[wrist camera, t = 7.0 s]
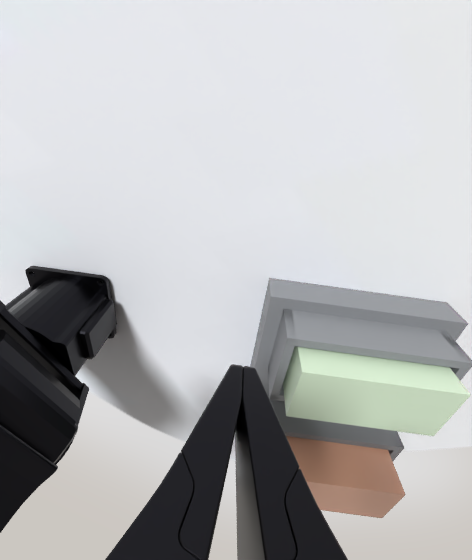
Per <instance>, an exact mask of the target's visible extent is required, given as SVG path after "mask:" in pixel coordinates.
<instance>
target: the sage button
mask: <svg viewBox="0 0 472 560" xmlns="http://www.w3.org/2000/svg"><path fill="white" fill-rule="evenodd" d="M283 389H284V399H285V410H286V416H289V417H296V418H303V419H311V420H318V421H325V422H333V423H340V424H348V425H355V426H362V427H370V428H377V429H384V430H392V431H399V432H406V433H414V434H421V435H428V436H434V435H435V434H436V433H437V432H438V431H439V430H440V429H441V428H442V426H443V425H444V424H445V423H446V422H447V421H448V420H449V419H450V418H451V417H452V415H453V414H454V413H455V412H456V411H457V410H458V409H459V408H460V407H461V405H462V404H463V403H464V402H465V401H466V400H467V399H468V398H469V397H470V393H469V392H468V391H467V389H466V388H465V387H464V385H463V384H462V383H461V382H460V380H459V379H458V378H457V376H456V375H455V374H454V372H453V371H452V370H451V368H450V367H444V366H437V365H429V364H422V363H415V362H407V361H400V360H393V359H385V358H378V357H371V356H364V355H356V354H349V353H342V352H334V351H327V350H320V349H312V348H305V347H298V346H295V347H294V350H293V353H292V356H291V360H290V363H289V366H288V369H287V372H286V375H285V378H284V381H283Z"/></svg>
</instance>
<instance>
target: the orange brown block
mask: <svg viewBox="0 0 472 560" xmlns="http://www.w3.org/2000/svg"><path fill="white" fill-rule="evenodd" d="M286 437H287V440H288V442H289V444H290V446H291V448H292V451H293V453H294V455H295V457H296V460H297V462H298V464H299V469H301V471H302V473H303V475H304V477H305V480H306V482H307V484H308V486H309V488H310V490H311V492H312V494H313V497H314V499H315V501H316V503H317V505H318V507H319V509H320V510H325V511H332V512H340V513H347V514H354V515H361V516H369V517H377V518H383V517H384V516H385V515H386V514H387V512H389V511H390V509H392V508H393V507H394V506H395V505H396V504H397V503H398V502H399V501H400V500H401V499H402V498H403V497H404V496H405V492H404V490H403V487H402V485H401V482H400V480H399V477H398V474H397V472H396V469H395V467H394V464H393V462H392V459H391V457H390V454H389V451H388V450H385V449H378V448H371V447H363V446H356V445H349V444H341V443H334V442H326V441H319V440H312V439H304V438H297V437H290V436H286Z"/></svg>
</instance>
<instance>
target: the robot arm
mask: <svg viewBox="0 0 472 560" xmlns="http://www.w3.org/2000/svg"><path fill="white" fill-rule="evenodd" d="M33 272H34V273H33ZM26 275H27V278H28V281H29V284H30V287H29V288H28V289H27V290H25V291H24V292H23V293H21V294H20V295H19V296H17V297H16V298H15V299H14V300H12V301H11V302H10V303H8V304H7V305H6V306H5V305H4V304H3V303H2V302H1V301H0V532H1V531H2V530H3V528H4V527H5V526H6V524H7V523H8V522H9V520H10V519H11V518H12V516H13V515H14V514H15V513H16V511H17V510H18V509H19V508H20V506H21V505H22V504H23V502H25V500H26V499H27V498H28V497H29V496H30V495H31V494H32V493H33V492H34V491H35V490H36V489H37V488H38V486H40V485H41V484H42V483H43V482H44V481H45V480H47V479H48V478H49V477H50V476H51V475H52V474H53V473H54V472H55V471H56V470H57V468H58V466H57V465H56V464H57V463H58V462H59V461H60V460H61V459H62V457H63V456H64V455H65V453H66V452H67V450H68V449H69V447H70V445H71V444H72V441H73V439H74V437H75V435H76V433H77V429H78V423H79V420H80V417H81V414H82V410H83V407H84V404H85V400H86V397H87V394H88V391H89V388H88V387H87V386H86V385H85V384H84V383H81V382H80V381H79V380H78V379H77V378H76V377H75V375H76V374H77V372H78V371H79V370H80V368H81V367H82V365H83V364H84V362H85V361H86V360H87V359H92V358H94V357H95V356H96V354H97V353H98V351H99V350H100V348H101V347H102V345H103V344H104V342H105V341H106V339H107V338H113V337H114V336H115V335H116V324H117V323H116V315H115V308H114V302H113V301H112V299H111V292H110V285H109V280H108V279H107V277H105V276H103V275H96V274H89V273H81V272H74V271H67V270H60V269H52V268H45V267H38V266H31V267H29V268H28V269H26ZM100 281H102V282H103V283H101V282H100ZM235 430H236V431H235ZM234 435H235V449H236V502H237V552H238V553H237V556H238V560H348V559H347V557H346V556H345V554H344V552H343V550H342V548H341V547H340V545H339V543H338V541H337V540H336V538H335V536H334V534H333V533H332V531H331V529H330V527H329V525H328V523H327V522H326V520H325V518H324V516H323V514H322V512H321V510H320V509H319V507H318V505H317V503H316V501H315V499H314V497H313V494H312V492H311V490H310V488H309V486H308V484H307V482H306V480H305V477H304V475H303V473H302V471H301V469H299V464H298V462H297V460H296V457H295V455H294V453H293V451H292V448H291V446H290V444H289V442H288V440H287V437H286V435H285V433H284V431H283V428H282V426H281V424H280V422H279V419H278V417H277V415H276V413H275V410H274V408H273V406H272V404H271V402H270V399H269V397H268V395H267V393H266V390H265V388H264V386H263V384H262V381H261V379H260V377H259V375H258V372H257V370H256V369H255V368H254V367H248V366H244V367H243V366H241V365H234V364H232V365H231V366H230V367H229V369H228V371H227V373H226V374H225V376H224V378H223V379H222V381H221V383H220V385H219V386H218V388H217V390H216V391H215V393H214V395H213V397H212V398H211V400H210V402H209V404H208V405H207V407H206V409H205V410H204V412H203V414H202V416H201V417H200V419H199V421H198V422H197V424H196V426H195V428H194V429H193V431H192V433H191V434H190V436H189V438H188V440H187V441H186V443H185V445H184V447H183V448H182V450H181V453H179V455H178V457H177V458H176V460H175V462H174V464H173V465H172V467H171V468H170V470H169V472H168V473H167V475H166V476H165V478H164V480H163V481H162V483H161V484H160V486H159V487H158V489H157V490H156V491H155V493H154V494H153V496H152V497H151V499H150V500H149V502H148V503H147V504H146V506H145V507H144V508H143V510H142V511H141V512H140V514H139V515H138V516H137V518H136V519H135V521H134V522H133V523H132V525H131V526H130V527H129V529H128V530H127V531H126V533H125V534H124V535H123V537H122V538H121V539H120V541H119V542H118V544H117V545H116V546H115V548H114V549H113V550H112V552H111V553H110V554H109V556H108V557H107V558H106V560H208V558H209V553H210V548H211V544H212V539H213V534H214V529H215V525H216V520H217V515H218V511H219V506H220V501H221V497H222V491H223V487H224V482H225V478H226V473H227V468H228V463H229V459H230V454H231V449H232V445H233V440H234Z"/></svg>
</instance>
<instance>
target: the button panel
mask: <svg viewBox="0 0 472 560" xmlns="http://www.w3.org/2000/svg"><path fill="white" fill-rule="evenodd" d="M467 325H468V323H467V322H466V321H465V320H464V319H463V318H462V317H461V316H460V315H459V314H458V313H457V312H456V311H455V310H454V309H453V308H452V307H451V306H450V305H449V304H448V303H446V302H439V301H431V300H424V299H417V298H410V297H402V296H395V295H388V294H381V293H373V292H366V291H359V290H352V289H345V288H337V287H330V286H323V285H316V284H308V283H301V282H294V281H287V280H279V279H272V278H269V282H268V287H267V292H266V296H265V301H264V306H263V310H262V315H261V319H260V324H259V329H258V333H257V338H256V343H255V347H254V352H253V357H252V361H251V366H250V367H254V368H255V369H256V370H257V372H258V375H259V377H260V379H261V381H262V384H263V386H264V388H265V390H266V393H267V395H268V397H269V399H270V402H271V404H272V406H273V408H274V410H275V413H276V415H277V417H278V419H279V422H280V424H281V426H282V428H283V431H284V433H285V435H286V436H290V437H297V438H304V439H312V440H319V441H326V442H334V443H341V444H349V445H356V446H363V447H371V448H378V449H385V450H388V451H389V454H390V457H391V459H392V462H393V461H394V459H395V458H396V457H397V456H398V455H399V453H400V452H401V451H402V450H403V449H404V446H403V444H402V442H401V439H400V437H399V435H398V433H397V431H392V430H384V429H377V428H370V427H362V426H355V425H348V424H340V423H333V422H325V421H318V420H311V419H303V418H296V417H289V416H286V410H285V399H284V389H283V381H284V378H285V375H286V372H287V369H288V366H289V363H290V360H291V356H292V353H293V350H294V347H295V346H298V347H305V348H312V349H320V350H327V351H334V352H342V353H349V354H356V355H364V356H371V357H378V358H385V359H393V360H400V361H407V362H415V363H422V364H429V365H437V366H444V367H450V368H451V370H452V371H453V372H454V374H455V375H456V376H457V378H458V379H459V380H461V379H462V378H463V377H464V376H465V374H466V373H467V372H468V371H469V370H470V368H471V367H472V360H471V359H470V358H469V357H468V355H467V354H466V353H465V352H464V351H463V350H462V349H461V347H460V346H459V345H458V344H457V343H456V342H455V341H456V340H457V338H458V337H459V336H460V334H461V333H462V331H463V330H464V329H465V327H466V326H467Z"/></svg>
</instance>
